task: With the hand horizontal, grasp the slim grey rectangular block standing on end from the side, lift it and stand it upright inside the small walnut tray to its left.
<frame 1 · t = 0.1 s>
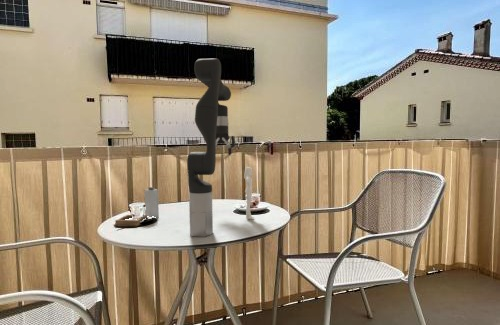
hand: (221, 155, 169), 29 cm above the table, tool pointing down, fingers open, 8 cm apart
grey rectangular block: (152, 218, 151), on the table
character figure: (249, 219, 149), on the table
tray: (131, 223, 143), on the table
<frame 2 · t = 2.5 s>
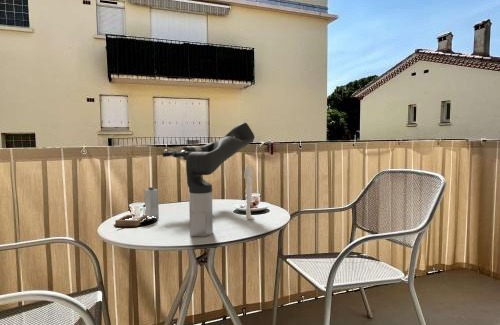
hand: (168, 154, 158), 30 cm above the table, tool horizontal, fingers open, 8 cm apart
nothing on the table moved.
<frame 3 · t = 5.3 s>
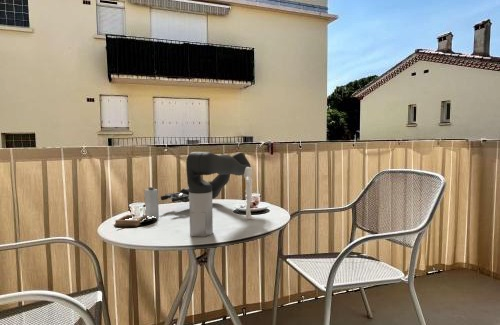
hand: (166, 199, 158), 8 cm above the table, tool horizontal, fingers open, 8 cm apart
nothing on the table moved.
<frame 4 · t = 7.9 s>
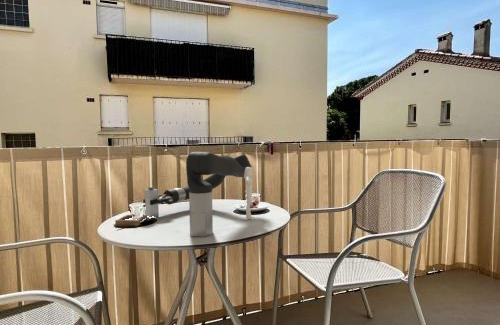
hand: (147, 202, 149), 8 cm above the table, tool horizontal, fingers closed on grey rectangular block, 4 cm apart
grey rectangular block: (152, 217, 151), on the table, touching gripper
character figure: (249, 219, 149), on the table, touching arm
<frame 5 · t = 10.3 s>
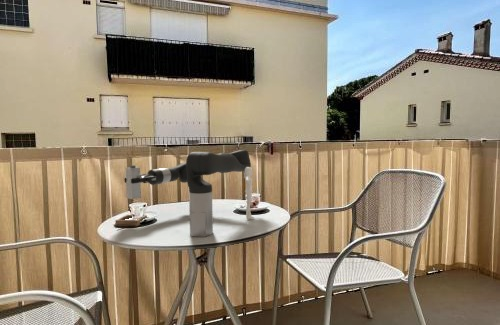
hand: (128, 180, 140), 20 cm above the table, tool horizontal, fingers closed on grey rectangular block, 4 cm apart
grey rectangular block: (133, 198, 143), point 11 cm above the table, touching gripper
character figure: (249, 219, 149), on the table
when the fingers open (10 cm above the table, at t = 12.8 s): grey rectangular block drops 1 cm, resting on tray.
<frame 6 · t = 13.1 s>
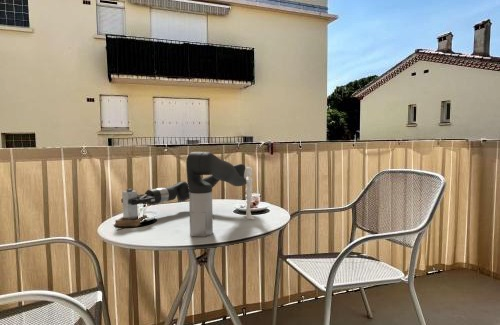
hand: (126, 201, 140), 10 cm above the table, tool horizontal, fingers open, 7 cm apart
grey rectangular block: (130, 221, 142), point 1 cm above the table, touching tray
everything else where it was.
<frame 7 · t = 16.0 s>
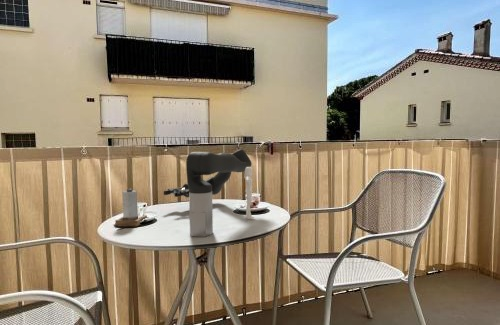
hand: (169, 193, 159), 10 cm above the table, tool horizontal, fingers open, 8 cm apart
nothing on the table moved.
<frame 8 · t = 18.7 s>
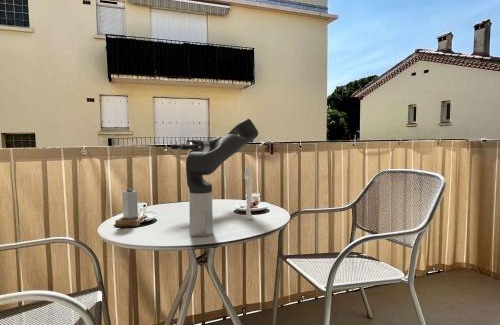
hand: (176, 147, 158), 34 cm above the table, tool horizontal, fingers open, 8 cm apart
nothing on the table moved.
at the end: grey rectangular block inside the target area on the tray (0.4 cm from its centre), point 0.8 cm above the tray's base; grey rectangular block tilted 0°; the gripper is holding nothing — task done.
